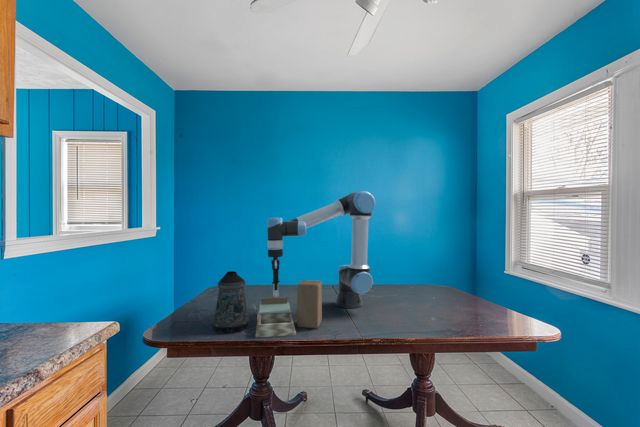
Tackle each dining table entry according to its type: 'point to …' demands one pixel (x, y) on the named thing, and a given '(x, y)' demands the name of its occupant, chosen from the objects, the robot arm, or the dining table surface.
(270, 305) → the lid
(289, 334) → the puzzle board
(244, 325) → the beer stein
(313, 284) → the wooden block
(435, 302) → the dining table surface
